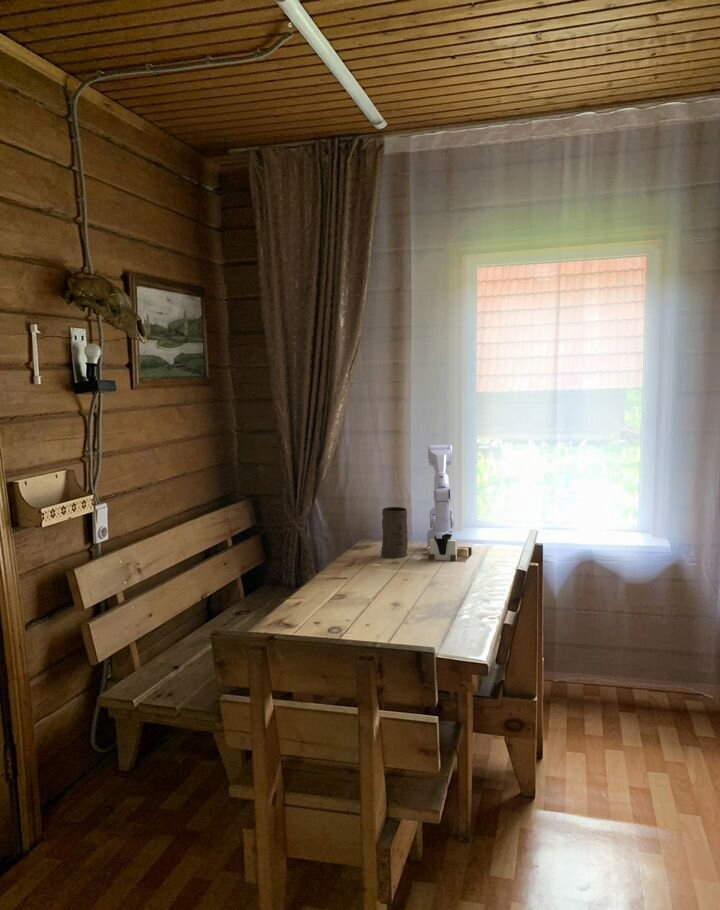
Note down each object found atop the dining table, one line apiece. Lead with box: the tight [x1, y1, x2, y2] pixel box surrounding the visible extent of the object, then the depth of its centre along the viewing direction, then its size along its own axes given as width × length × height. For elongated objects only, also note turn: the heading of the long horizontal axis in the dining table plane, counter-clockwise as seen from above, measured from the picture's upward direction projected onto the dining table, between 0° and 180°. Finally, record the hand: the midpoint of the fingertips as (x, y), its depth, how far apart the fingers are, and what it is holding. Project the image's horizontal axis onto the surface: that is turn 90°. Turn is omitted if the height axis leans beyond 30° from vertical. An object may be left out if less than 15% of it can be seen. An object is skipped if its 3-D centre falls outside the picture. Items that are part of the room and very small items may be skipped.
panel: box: [430, 539, 458, 560], centre depth 269 cm, size 10×3×8 cm, turn 71°
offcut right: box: [457, 546, 469, 557], centre depth 274 cm, size 6×3×3 cm, turn 71°
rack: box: [419, 545, 473, 563], centre depth 272 cm, size 18×14×4 cm
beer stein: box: [380, 506, 409, 560], centre depth 279 cm, size 15×11×20 cm
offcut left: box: [426, 546, 430, 555], centre depth 278 cm, size 6×3×3 cm, turn 71°
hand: (443, 553), depth 269 cm, fingers closed on panel, 3 cm apart
